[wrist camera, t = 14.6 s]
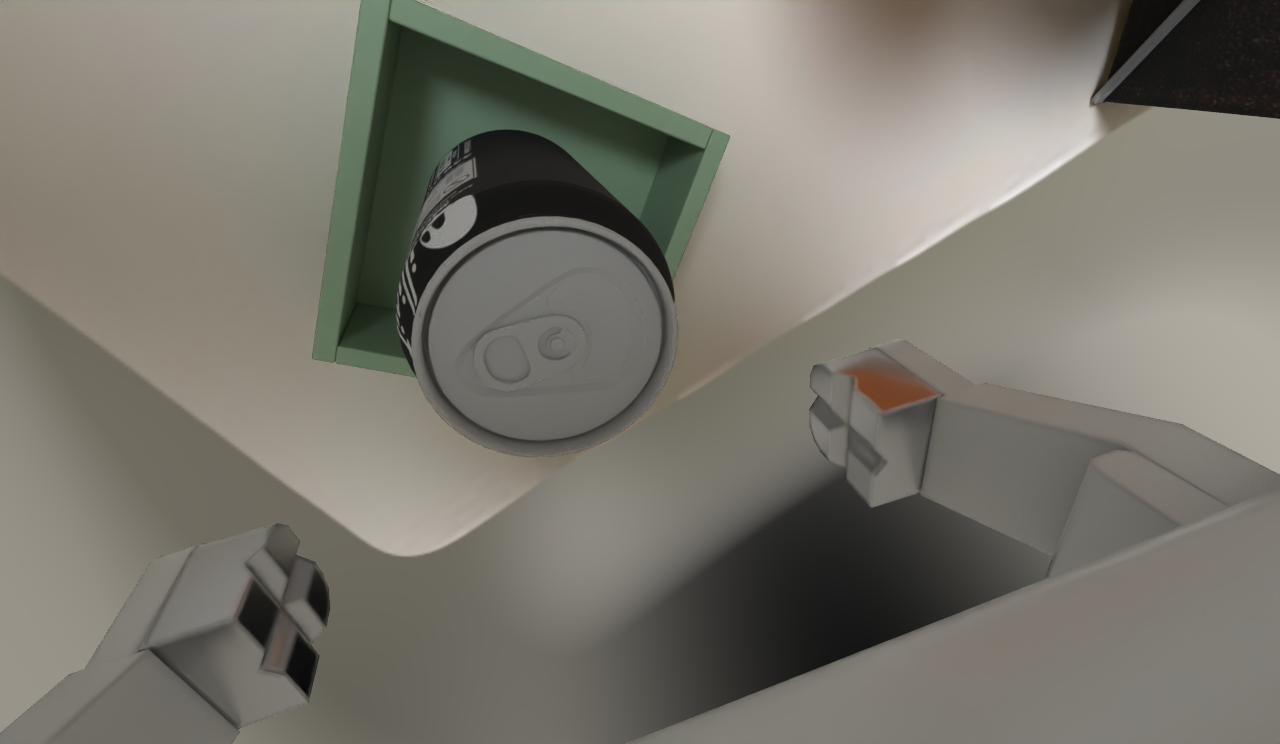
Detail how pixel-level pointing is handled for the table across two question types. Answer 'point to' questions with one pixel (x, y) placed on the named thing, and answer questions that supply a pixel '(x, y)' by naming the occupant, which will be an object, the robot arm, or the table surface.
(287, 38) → the table surface
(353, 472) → the table surface
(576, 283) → the beverage can
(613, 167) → the bin
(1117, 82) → the book
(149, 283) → the table surface
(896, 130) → the table surface
